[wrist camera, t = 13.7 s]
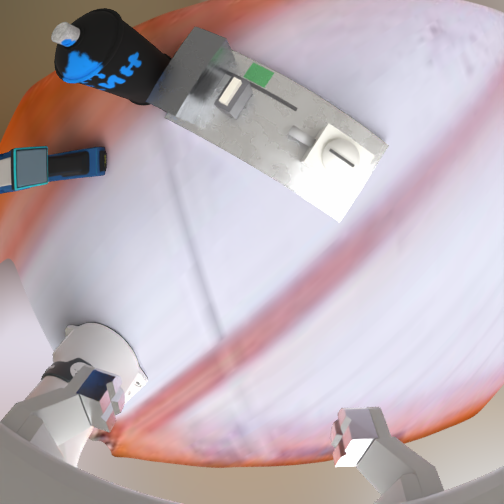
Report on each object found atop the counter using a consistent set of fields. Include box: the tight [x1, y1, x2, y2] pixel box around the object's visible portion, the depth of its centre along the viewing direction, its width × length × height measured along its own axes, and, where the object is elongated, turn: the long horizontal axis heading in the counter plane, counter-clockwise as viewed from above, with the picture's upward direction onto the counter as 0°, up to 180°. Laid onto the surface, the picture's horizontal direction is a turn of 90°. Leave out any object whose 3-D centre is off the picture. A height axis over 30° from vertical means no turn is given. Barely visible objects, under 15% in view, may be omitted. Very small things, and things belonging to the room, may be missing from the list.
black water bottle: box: [52, 8, 172, 105], centre depth 23 cm, size 8×8×20 cm
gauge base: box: [146, 27, 389, 222], centre depth 30 cm, size 26×12×8 cm, turn 59°
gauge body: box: [288, 123, 374, 193], centre depth 30 cm, size 9×5×6 cm, turn 59°
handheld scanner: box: [0, 146, 107, 194], centre depth 28 cm, size 5×16×20 cm, turn 89°
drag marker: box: [214, 74, 253, 119], centre depth 29 cm, size 2×4×6 cm, turn 149°
